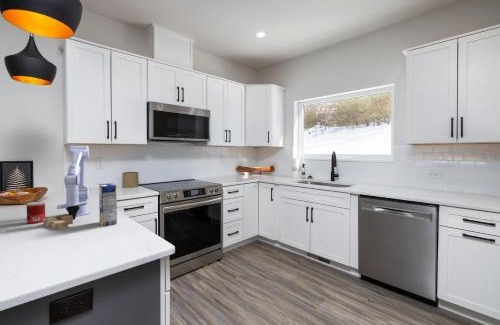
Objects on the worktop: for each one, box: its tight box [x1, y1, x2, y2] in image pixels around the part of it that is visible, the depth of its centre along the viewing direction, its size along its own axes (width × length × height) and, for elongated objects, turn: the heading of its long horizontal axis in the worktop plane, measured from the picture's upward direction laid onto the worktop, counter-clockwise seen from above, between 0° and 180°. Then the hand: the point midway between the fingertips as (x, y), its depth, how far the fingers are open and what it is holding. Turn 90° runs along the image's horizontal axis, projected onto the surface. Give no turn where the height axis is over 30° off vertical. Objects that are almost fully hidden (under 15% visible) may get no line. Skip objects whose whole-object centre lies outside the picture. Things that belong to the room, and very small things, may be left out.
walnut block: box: [55, 213, 74, 226], centre depth 137 cm, size 8×5×4 cm, turn 58°
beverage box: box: [98, 182, 118, 227], centre depth 139 cm, size 7×11×22 cm, turn 39°
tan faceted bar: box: [42, 217, 69, 231], centre depth 133 cm, size 18×4×3 cm, turn 60°
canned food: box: [26, 201, 46, 225], centre depth 140 cm, size 8×8×11 cm
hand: (72, 219), depth 141 cm, fingers closed
